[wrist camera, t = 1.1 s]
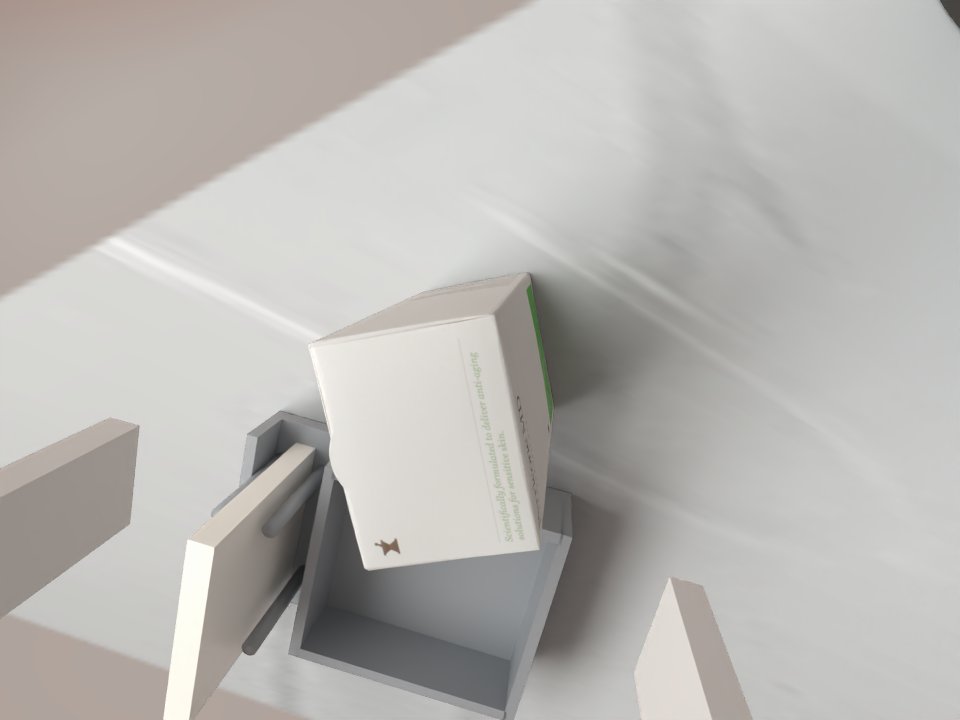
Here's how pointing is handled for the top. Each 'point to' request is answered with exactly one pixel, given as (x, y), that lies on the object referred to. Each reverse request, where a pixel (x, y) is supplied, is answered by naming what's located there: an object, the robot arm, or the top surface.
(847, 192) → the top surface
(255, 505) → the grey open box
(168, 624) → the top surface
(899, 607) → the top surface
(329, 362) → the skincare box
